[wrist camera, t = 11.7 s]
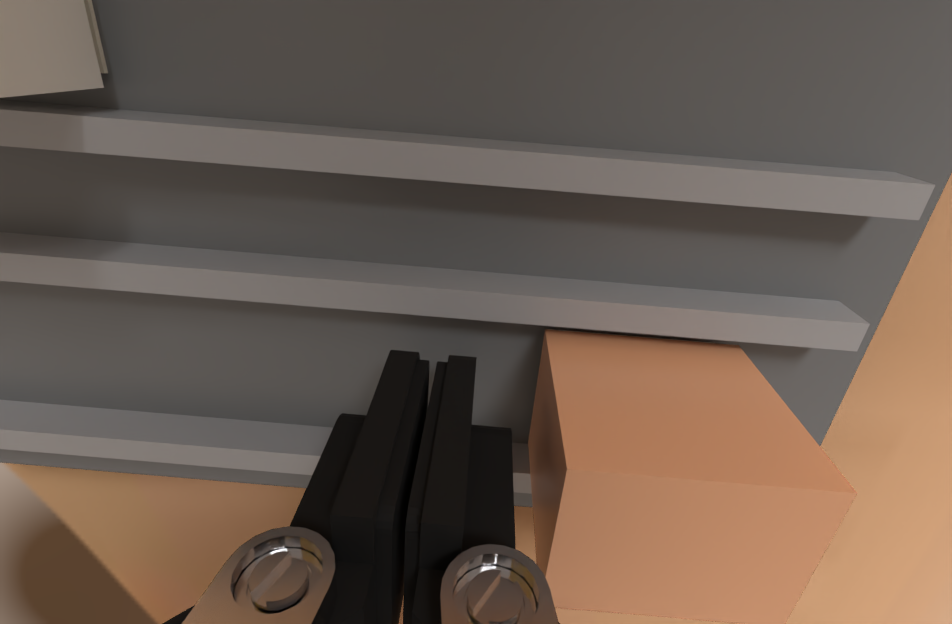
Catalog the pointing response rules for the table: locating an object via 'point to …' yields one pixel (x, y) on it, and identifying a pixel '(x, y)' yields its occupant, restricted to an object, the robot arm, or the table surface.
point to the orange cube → (674, 482)
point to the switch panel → (446, 209)
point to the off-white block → (46, 48)
